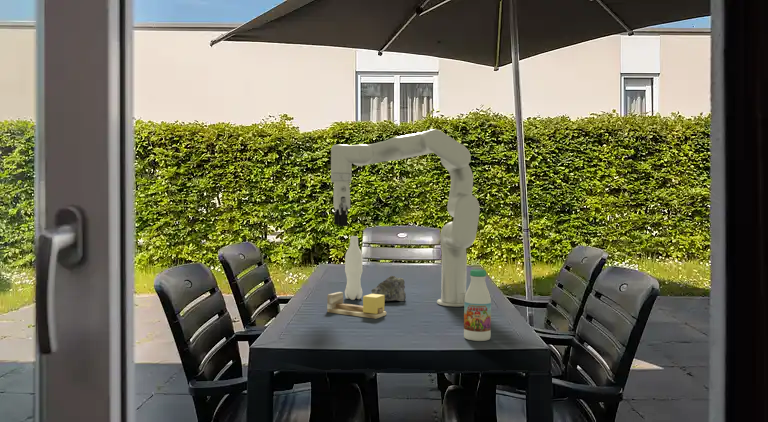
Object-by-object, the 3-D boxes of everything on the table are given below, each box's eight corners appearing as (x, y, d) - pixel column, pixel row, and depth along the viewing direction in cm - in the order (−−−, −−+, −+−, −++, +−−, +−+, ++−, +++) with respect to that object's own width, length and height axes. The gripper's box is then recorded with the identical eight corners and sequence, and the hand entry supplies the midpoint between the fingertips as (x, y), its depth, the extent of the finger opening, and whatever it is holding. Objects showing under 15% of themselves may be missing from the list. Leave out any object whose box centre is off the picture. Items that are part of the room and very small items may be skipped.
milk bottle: (461, 335, 167) (462, 268, 166) (486, 334, 167) (487, 268, 167) (467, 341, 159) (468, 271, 159) (493, 341, 160) (494, 271, 159)
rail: (386, 315, 194) (386, 297, 194) (376, 318, 188) (376, 300, 187) (338, 308, 204) (338, 291, 203) (327, 312, 198) (327, 294, 197)
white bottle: (363, 297, 227) (364, 235, 226) (361, 300, 220) (361, 237, 219) (346, 296, 227) (346, 235, 227) (343, 300, 220) (343, 236, 220)
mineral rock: (369, 302, 216) (370, 276, 216) (375, 297, 227) (376, 273, 226) (402, 304, 214) (403, 278, 213) (407, 299, 224) (407, 274, 224)
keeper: (384, 310, 194) (384, 295, 193) (375, 313, 188) (375, 297, 188) (372, 309, 196) (372, 293, 196) (363, 312, 191) (363, 296, 191)
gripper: (355, 178, 197) (355, 226, 197) (347, 179, 214) (346, 224, 214) (334, 177, 195) (334, 226, 196) (327, 179, 212) (327, 224, 212)
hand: (340, 225), depth 205 cm, fingers open, 9 cm apart
